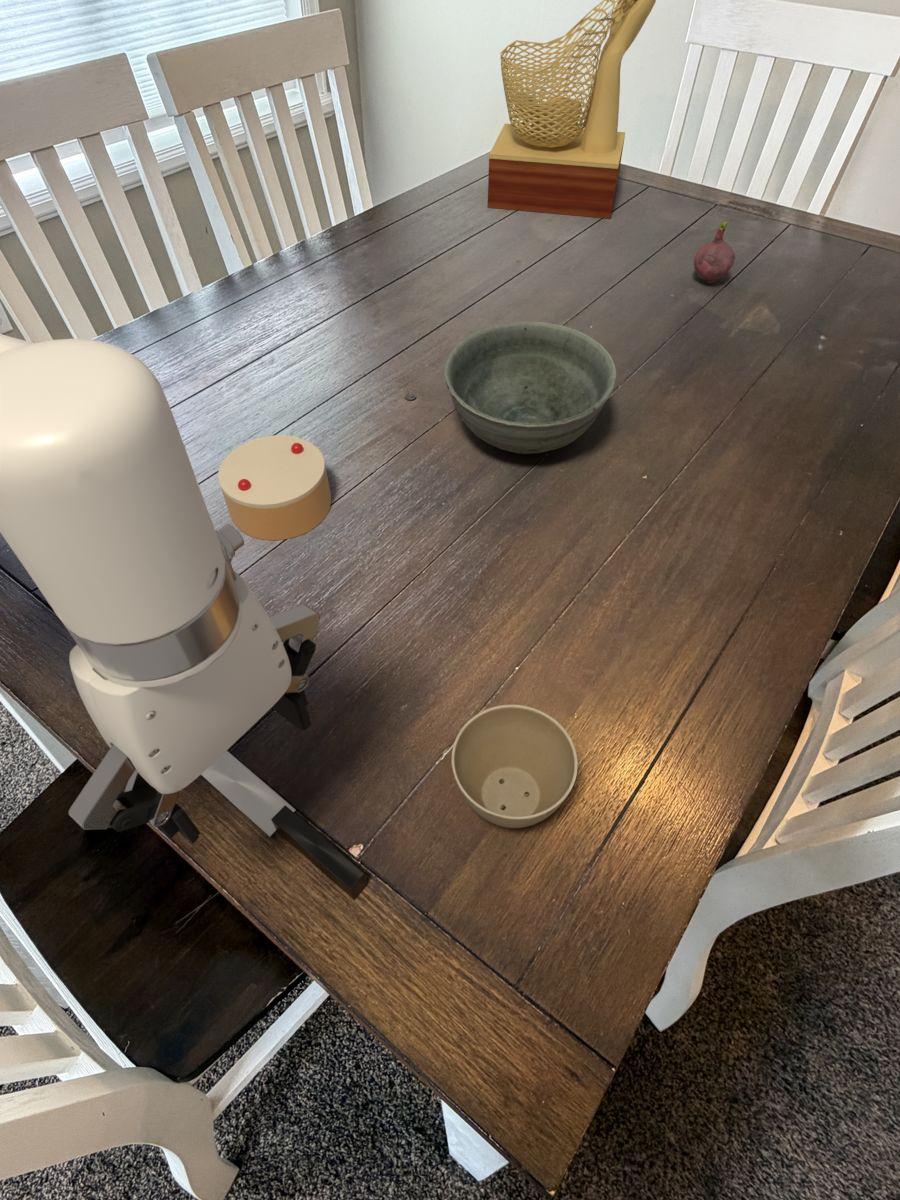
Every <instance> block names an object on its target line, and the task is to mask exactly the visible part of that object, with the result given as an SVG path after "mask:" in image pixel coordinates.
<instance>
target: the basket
mask: <svg viewBox="0 0 900 1200" xmlns="http://www.w3.org/2000/svg"><path fill="white" fill-rule="evenodd" d="M656 2H657V0H602V1H601V2H600V3H598V4H596V5H595V6H594V7H593V8H592V9H591V10H590V11H588V13H586V15H584V16H583V18H581V19H580V20H579V21H578V22H577V23H576V24H575V25H574V26H573V27H572V28H571V29H570V30H568V32H566V34H564V35H562V36H559V37H557V38H554V39H552V40H549V41H547V42H544V43H543V42H534V41H527V40H519V39H516V40H514V41H513V42H511V43H510V44H508V45H506V47H504V48H503V50H501V51H500V53H499V54H500V71H501V78H502V85H503V91H504V98H505V102H506V108H507V113H508V119H509V123H504V125H503V126H502V128H501V130H500V132H499V134H498V136H497V138H496V140H495V142H494V143H493V146H492V147H491V149H490V151H489V154H488V176H487V177H488V178H487V180H488V182H487V208H489V209H497V210H498V209H499V210H511V211H520V212H521V211H523V212H531V213H532V212H533V213H545V214H554V215H565V216H567V215H568V216H575V217H576V216H577V217H587V218H598V219H611V216H612V211H613V206H614V202H615V197H616V192H617V187H618V182H619V175H620V170H621V162H622V157H623V151H624V144H625V137H626V131H618V129H619V128H618V127H619V113H620V111H619V110H620V93H621V68H622V60H623V57H624V55H625V53H626V52H627V51H628V49H629V48H630V47H631V45H632V44H633V43H634V41H635V40H636V38H637V37H638V35H639V33H640V31H641V30H642V28H643V26H644V24H645V22H646V21H647V19H648V17H649V15H650V14H651V12H652V10H653V8H654V6H655V5H656ZM609 3H611V4H609ZM603 4H604V5H603ZM608 4H609V5H608ZM607 5H608V6H607ZM606 6H607V7H606ZM601 7H602V8H601ZM605 7H606V8H605ZM611 7H612V8H611ZM610 8H611V9H610ZM608 9H610V11H608V12H607V10H608ZM595 14H596V15H595ZM594 15H595V16H594ZM603 15H605V16H603ZM593 16H594V17H593ZM598 16H599V18H598V19H597V17H598ZM592 17H593V18H592ZM587 21H588V22H587ZM605 21H606V24H604V22H605ZM592 22H594V23H593V24H592V25H591V26H590V27H589V28H588V29H586V27H587V26H588V25H590V24H591V23H592ZM597 24H598V26H596V25H597ZM595 26H596V27H595ZM594 27H595V28H594ZM600 27H601V29H600V30H598V29H599V28H600ZM582 31H584V32H583V33H582V34H581V32H582ZM576 33H577V34H576ZM575 34H576V35H575ZM580 34H581V35H580ZM600 34H601V35H600ZM574 35H575V37H574ZM579 35H580V36H579ZM607 36H608V37H607ZM597 37H598V39H597V40H596V41H594V40H595V39H596V38H597ZM572 38H573V40H572ZM606 38H607V39H606ZM570 40H572V41H571V42H570ZM605 40H606V41H605ZM569 42H570V43H569ZM598 42H599V43H598ZM517 43H518V44H517ZM603 43H604V45H603ZM530 44H532V45H530ZM554 44H555V45H554ZM562 44H563V45H562ZM552 45H554V46H552ZM561 45H562V46H561ZM602 45H603V47H602ZM537 46H538V47H540V48H536V47H537ZM522 47H526V48H524V49H523V48H522ZM594 47H595V48H594ZM601 47H602V49H601ZM593 48H594V49H593ZM530 49H533V51H531V52H529V51H528V50H530ZM544 49H548V50H546V51H545V52H543V51H542V50H544ZM554 49H557V50H555V51H553V52H552V50H554ZM511 50H512V51H511ZM516 50H520V51H519V52H515V51H516ZM561 50H562V51H561ZM590 51H591V52H590ZM537 52H538V53H540V54H535V53H537ZM588 52H589V53H588ZM522 53H526V54H525V55H522ZM587 53H588V54H587ZM508 54H509V56H508ZM553 55H554V56H553ZM517 56H518V57H517ZM529 56H531V57H529ZM542 56H545V57H542ZM537 58H538V60H536V59H537ZM582 58H583V59H582ZM592 58H593V59H592ZM523 59H524V60H523ZM581 59H582V60H581ZM552 60H553V61H552ZM586 60H587V61H586ZM517 61H518V63H516V62H517ZM529 61H532V62H529ZM542 61H544V62H542ZM584 61H586V62H584ZM523 64H524V65H523ZM567 64H568V65H567ZM573 64H574V65H573ZM566 65H567V66H566ZM572 65H573V66H572ZM588 66H589V67H588ZM578 67H580V69H579V68H578ZM584 69H586V71H585V72H583V71H582V70H584ZM578 75H580V76H578ZM586 76H588V77H587V78H586ZM583 78H584V81H581V80H582V79H583ZM588 82H590V83H588ZM570 85H572V86H571V87H570ZM585 86H586V88H585ZM581 88H582V89H581ZM573 89H575V91H574V90H573ZM580 89H581V90H580ZM586 91H587V93H586ZM569 93H571V94H569ZM573 96H574V97H573ZM572 97H573V98H572ZM585 101H586V102H585ZM583 108H584V109H583Z"/></svg>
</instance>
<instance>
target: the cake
mask: <svg viewBox="0 0 900 1200" xmlns="http://www.w3.org/2000/svg"><path fill="white" fill-rule="evenodd" d="M217 479H218V482H219V486H220V490H221V492H222V495H223V498H224V502H225V504H226V507H227V511H228V514H229V516H230V519H231V522H232V523H233V525H234V527H236V529H237V530H238V531H240V532H241V533H243V534H245V535H247V536H249V537H251V538H253V539H257V540H262V541H284V540H289V539H293V538H296V537H299V536H301V535H302V536H303V535H304V534H306V533H308V532H310V531H312V530H313V529H315V528H316V527H317V526H319V525H320V524H322V522H323V521H324V520H325V518H326V517H327V515H328V514H329V511H330V510H331V506H332V494H331V489H330V488H331V487H330V483H329V478H328V472H327V466H326V460H325V457H324V455H323V452H321V450H320V449H319V448H318V447H317V446H316V445H315V444H313V443H312V442H311V441H309V440H307V439H305V438H301V437H298V436H294V435H288V434H287V435H285V434H274V435H267V436H266V435H265V436H261V437H257V438H254V439H250V440H248V441H246V442H244V443H242V444H240V445H239V446H237V447H235V448H234V449H232V450H231V451H230V452H229V453H228V454H227V455H226V456H225V457H224V459H223V460H222V462H221V464H220V466H219V468H218V473H217Z"/></svg>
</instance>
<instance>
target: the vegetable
mask: <svg viewBox="0 0 900 1200" xmlns="http://www.w3.org/2000/svg"><path fill="white" fill-rule="evenodd" d="M728 224H729V223H728V221H724V222H723V223H721V224H720V225H719V227H718V229H717V231H716V234H715V236H714V239H713V240H711V241H709V242H708V243H704V244H703V245H702V246H701V247H700V248H698V250H697V252H695V253H696V254H695V256H694V259H693V266H694V270H695V272H696V273H697V275H698V276H699V277H700V278H701V279H702V280H704V282H705V283H706V284H712V283H715V282H717V281H718V280H719V279H721V278H723V277H724V276H725V275H726V274H727V273H728V272H729V271H730V270H731V269H732V268H733V266H734V263H735V262H736V261H735V260H736V255H735V251H734V249H733V247H732V246H731V245H730V244H729V243H728V242H726V241H724V233H725V232H726V227H727V226H728Z"/></svg>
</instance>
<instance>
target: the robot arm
mask: <svg viewBox="0 0 900 1200" xmlns="http://www.w3.org/2000/svg"><path fill="white" fill-rule="evenodd" d="M183 441H184V440H183V438H182V435H181V433H180V430H179V427H178V425H177V422H176V419H175V417H174V414H173V411H172V409H171V406H170V404H169V401H168V398H167V397H166V394H165V392H164V389H163V387H162V385H161V383H160V381H159V379H158V378H157V377H156V376H155V374H154V373H153V371H152V370H151V369H150V368H149V367H148V366H147V364H145V363H144V361H142V360H141V359H140V358H139V357H137V356H135V355H134V354H133V353H131V352H130V351H127V350H126V349H124V348H122V347H120V346H117V345H115V344H111V343H107V342H104V341H99V340H95V339H94V340H93V339H87V338H61V339H50V340H44V341H39V342H38V341H37V342H32V341H28V340H24V339H20V338H17V337H13V336H9V335H6V334H2V333H0V534H1V536H2V538H3V540H5V541H6V542H7V545H8V546H9V547H10V549H11V550H12V552H13V553H14V554H15V556H16V558H17V559H18V560H19V562H20V563H21V565H22V566H23V567H24V569H25V570H26V572H27V573H28V575H29V577H30V578H31V579H32V581H33V582H34V584H35V585H36V587H37V588H38V590H39V591H40V592H41V594H42V596H43V597H44V599H45V601H46V602H47V603H48V605H49V606H50V608H51V609H52V610H53V612H54V613H55V615H56V616H57V617H58V619H59V620H60V622H61V623H62V625H63V626H64V627H65V629H66V631H67V632H68V634H70V637H72V639H73V641H74V642H75V643H76V645H74V646H73V647H72V649H70V651H69V657H68V659H69V668H70V671H71V674H72V678H73V681H74V684H75V687H76V689H77V692H78V695H79V697H80V699H81V701H82V703H83V705H84V708H85V710H86V711H87V713H88V715H89V717H90V719H91V720H92V722H93V724H94V726H95V727H96V729H97V731H98V732H99V734H100V736H101V737H102V739H103V741H104V742H105V744H106V745H107V746H108V747H109V749H108V750H107V752H106V754H105V755H104V757H103V758H102V760H101V761H100V763H99V764H98V765H97V767H96V769H94V772H93V773H92V775H91V776H90V778H89V779H88V781H87V782H86V784H85V785H84V786H83V788H82V789H81V790H80V793H79V794H78V796H77V797H76V799H75V800H74V801H73V803H72V804H71V806H70V807H69V809H68V816H69V817H70V818H71V819H72V820H73V821H74V822H75V823H76V824H78V826H79V827H81V829H83V830H86V831H101V830H102V831H104V830H105V831H106V830H107V829H114V830H115V831H116V832H117V833H119V832H123V831H126V830H129V829H130V830H131V829H133V828H136V827H139V826H142V825H145V824H148V823H150V825H152V826H153V827H154V828H157V829H158V830H159V831H160V832H161V833H162V834H164V835H165V837H167V838H168V839H170V840H171V839H173V838H174V836H176V835H177V833H178V832H179V833H180V834H181V835H182V836H183V837H184V838H185V839H187V841H189V842H190V843H191V844H192V845H194V844H195V843H196V842H197V840H198V839H199V838H200V836H199V835H201V832H200V831H199V829H198V827H197V826H196V825H195V823H194V822H193V821H192V819H191V818H190V817H189V815H188V814H187V812H186V811H185V810H184V809H183V808H182V807H181V806H180V805H179V804H178V803H177V801H178V797H179V795H180V791H182V790H183V789H185V788H186V787H188V786H189V785H190V784H192V783H193V782H194V781H196V779H197V778H199V777H200V776H201V774H202V773H203V772H204V771H205V770H206V769H207V768H208V767H209V766H211V765H212V764H213V763H214V762H215V761H216V760H217V759H218V758H219V757H220V756H221V755H222V754H223V753H224V752H226V751H228V750H229V749H230V748H231V747H232V746H233V745H234V744H235V743H237V741H238V740H239V739H240V738H242V737H243V736H244V735H245V734H246V733H247V732H248V731H249V730H250V729H251V728H252V727H253V726H254V725H256V724H257V722H259V720H260V719H262V717H264V716H265V714H267V712H269V711H270V710H271V709H272V710H273V711H275V712H276V713H277V714H278V715H279V716H281V717H282V718H283V719H285V720H286V721H288V722H289V723H290V724H292V725H293V726H294V727H295V728H296V729H298V730H299V731H301V732H304V731H307V730H308V729H309V728H310V727H311V726H312V720H311V718H310V715H309V712H308V708H307V706H308V705H309V702H308V698H307V696H306V692H305V690H306V689H307V687H308V686H309V683H310V677H309V676H308V675H307V674H306V672H307V670H308V667H309V666H310V663H311V660H312V659H313V656H314V654H315V652H316V649H317V644H316V643H315V642H314V638H316V637H317V633H318V628H319V624H320V619H321V614H320V613H319V612H318V611H316V610H314V609H313V608H312V607H310V606H308V604H305V603H302V604H299V605H297V606H294V607H292V608H289V609H286V610H284V611H281V612H278V613H275V614H272V615H270V616H269V615H268V613H267V611H266V609H265V608H264V607H263V605H262V603H261V602H260V601H259V599H258V598H257V596H256V594H255V593H254V592H253V590H252V589H251V587H250V586H249V584H247V583H246V581H245V580H244V578H243V577H241V575H240V574H239V573H237V572H236V571H235V570H234V568H233V565H232V561H233V558H234V557H235V556H236V552H237V551H238V550H239V549H240V548H242V547H243V546H244V545H245V540H244V537H243V536H242V534H241V533H240V532H239V530H238V528H235V526H233V525H232V524H228V523H226V524H225V525H224V526H222V527H221V528H219V529H218V530H216V529H215V527H214V524H213V523H214V522H213V520H212V518H211V515H210V512H209V510H208V507H207V504H206V502H205V498H204V496H203V493H202V490H201V487H200V484H199V481H198V480H197V477H196V474H195V471H194V469H193V466H192V463H191V461H190V458H189V454H188V453H187V449H186V447H185V443H184V442H183ZM124 788H125V789H124ZM123 790H124V792H122V791H123Z"/></svg>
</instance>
